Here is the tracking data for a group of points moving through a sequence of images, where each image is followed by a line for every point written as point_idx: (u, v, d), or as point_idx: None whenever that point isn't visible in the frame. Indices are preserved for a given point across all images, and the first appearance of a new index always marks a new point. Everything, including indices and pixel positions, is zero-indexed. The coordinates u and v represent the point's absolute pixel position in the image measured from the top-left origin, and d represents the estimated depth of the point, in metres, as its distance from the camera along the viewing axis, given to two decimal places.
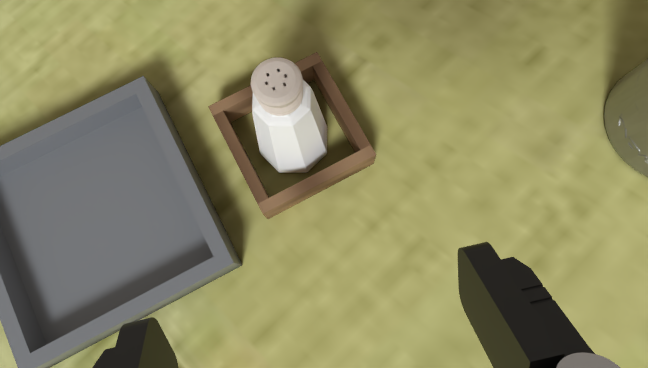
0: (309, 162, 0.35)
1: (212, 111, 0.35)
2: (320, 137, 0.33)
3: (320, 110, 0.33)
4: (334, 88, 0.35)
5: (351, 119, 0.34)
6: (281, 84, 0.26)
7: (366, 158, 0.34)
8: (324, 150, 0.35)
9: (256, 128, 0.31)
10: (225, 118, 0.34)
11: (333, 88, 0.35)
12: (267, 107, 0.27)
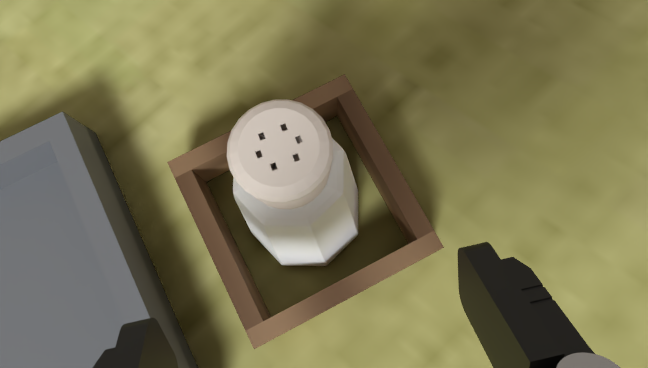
0: (331, 254, 0.21)
1: (174, 170, 0.21)
2: (352, 221, 0.19)
3: (353, 176, 0.19)
4: (373, 134, 0.21)
5: (401, 186, 0.21)
6: (290, 157, 0.12)
7: (427, 254, 0.20)
8: (356, 232, 0.22)
9: (243, 213, 0.18)
10: (194, 182, 0.21)
11: (371, 134, 0.21)
12: None
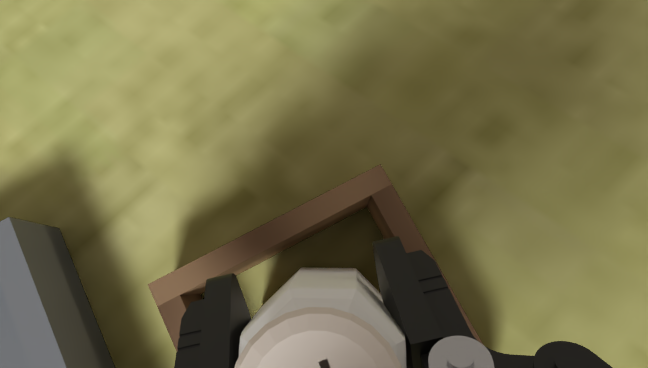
0: None
1: (156, 296, 0.16)
2: None
3: None
4: (419, 247, 0.16)
5: None
6: None
7: None
8: None
9: None
10: None
11: (417, 247, 0.16)
12: None
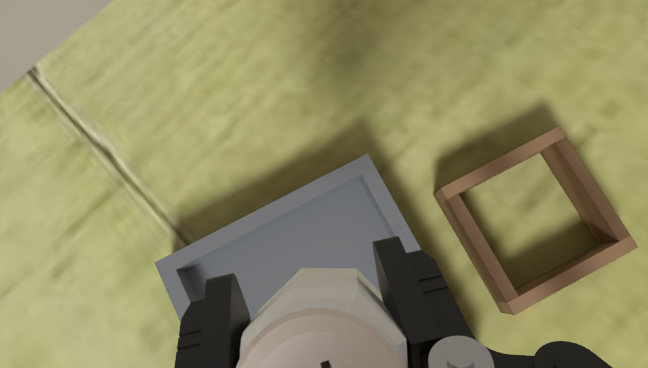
0: None
1: (445, 194, 0.31)
2: None
3: None
4: (582, 168, 0.31)
5: (605, 205, 0.30)
6: None
7: (627, 251, 0.30)
8: None
9: None
10: (461, 202, 0.31)
11: (581, 168, 0.31)
12: None
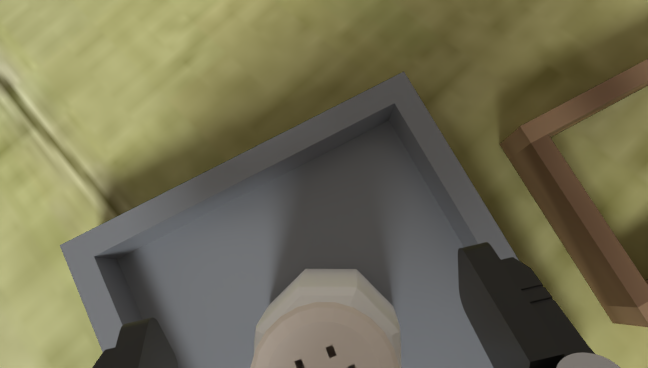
0: None
1: (528, 135, 0.20)
2: None
3: (395, 315, 0.16)
4: None
5: None
6: None
7: None
8: None
9: None
10: (554, 148, 0.19)
11: None
12: None
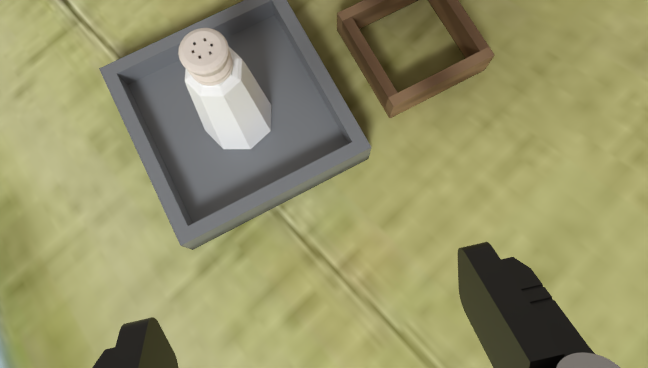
0: (251, 138, 0.36)
1: (341, 17, 0.38)
2: (259, 112, 0.34)
3: (259, 86, 0.34)
4: None
5: (470, 24, 0.37)
6: (207, 53, 0.27)
7: (485, 58, 0.37)
8: (267, 127, 0.36)
9: (193, 101, 0.32)
10: (354, 23, 0.38)
11: None
12: (195, 76, 0.28)
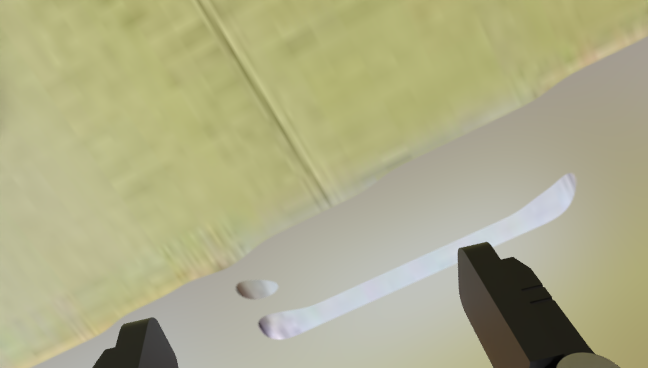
0: None
1: None
2: None
3: None
4: None
5: None
6: None
7: None
8: None
9: None
10: None
11: None
12: None
